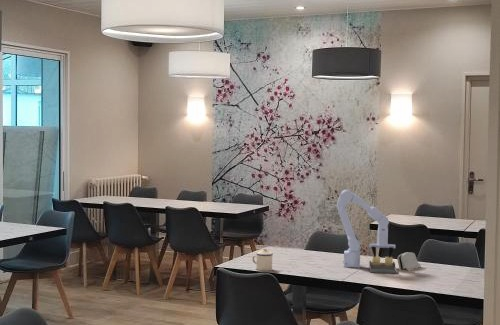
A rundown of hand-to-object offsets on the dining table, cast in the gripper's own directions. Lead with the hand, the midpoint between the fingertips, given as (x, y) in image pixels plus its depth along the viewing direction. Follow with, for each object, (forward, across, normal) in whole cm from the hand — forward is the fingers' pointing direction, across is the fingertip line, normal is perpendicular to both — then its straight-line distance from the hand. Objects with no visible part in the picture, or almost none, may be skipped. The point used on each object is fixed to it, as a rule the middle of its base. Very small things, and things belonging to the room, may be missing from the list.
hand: (382, 260), depth 384 cm
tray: (+4, 0, +13) cm, 14 cm away
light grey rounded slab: (+4, -15, -3) cm, 16 cm away
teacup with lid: (+4, +66, +23) cm, 70 cm away
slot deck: (+4, 0, +3) cm, 5 cm away
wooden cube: (+2, +3, +4) cm, 5 cm away
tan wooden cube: (+2, -4, +4) cm, 5 cm away
